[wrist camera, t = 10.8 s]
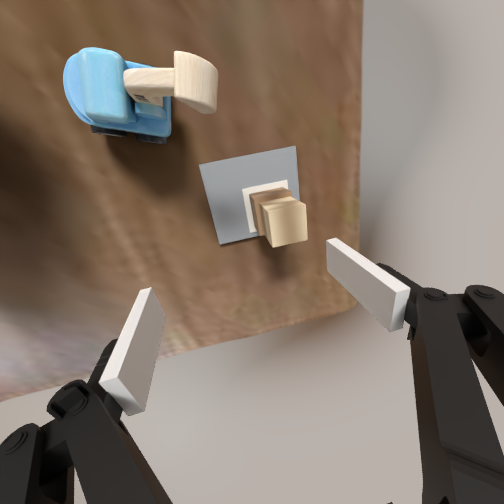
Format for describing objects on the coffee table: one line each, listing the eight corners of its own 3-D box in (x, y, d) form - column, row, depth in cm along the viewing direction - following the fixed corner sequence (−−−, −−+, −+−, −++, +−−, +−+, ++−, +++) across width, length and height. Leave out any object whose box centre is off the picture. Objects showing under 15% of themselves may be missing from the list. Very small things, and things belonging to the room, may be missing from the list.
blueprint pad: (219, 242, 40) (219, 244, 40) (199, 164, 34) (198, 164, 33) (299, 224, 42) (301, 226, 41) (293, 146, 36) (296, 145, 35)
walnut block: (254, 226, 39) (260, 236, 35) (248, 194, 37) (253, 199, 32) (285, 219, 40) (295, 228, 35) (282, 186, 37) (291, 191, 33)
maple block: (263, 233, 35) (272, 247, 29) (258, 202, 32) (268, 212, 27) (292, 226, 35) (307, 239, 30) (290, 196, 33) (305, 204, 27)
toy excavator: (213, 152, 34) (214, 150, 19) (94, 134, 31) (-24, 114, 15) (216, 87, 31) (221, 19, 15) (84, 58, 27) (-82, -66, 12)
